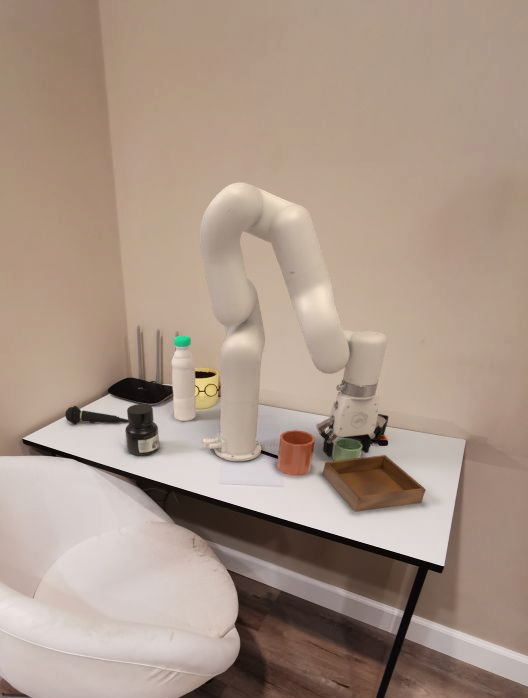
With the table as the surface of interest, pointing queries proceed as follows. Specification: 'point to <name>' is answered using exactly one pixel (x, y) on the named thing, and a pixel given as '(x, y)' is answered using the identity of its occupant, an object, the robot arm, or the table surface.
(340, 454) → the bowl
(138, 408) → the ink bottle
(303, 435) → the cup
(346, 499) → the tray
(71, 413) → the microphone
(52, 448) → the table surface
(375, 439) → the black angular box
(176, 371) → the water bottle
